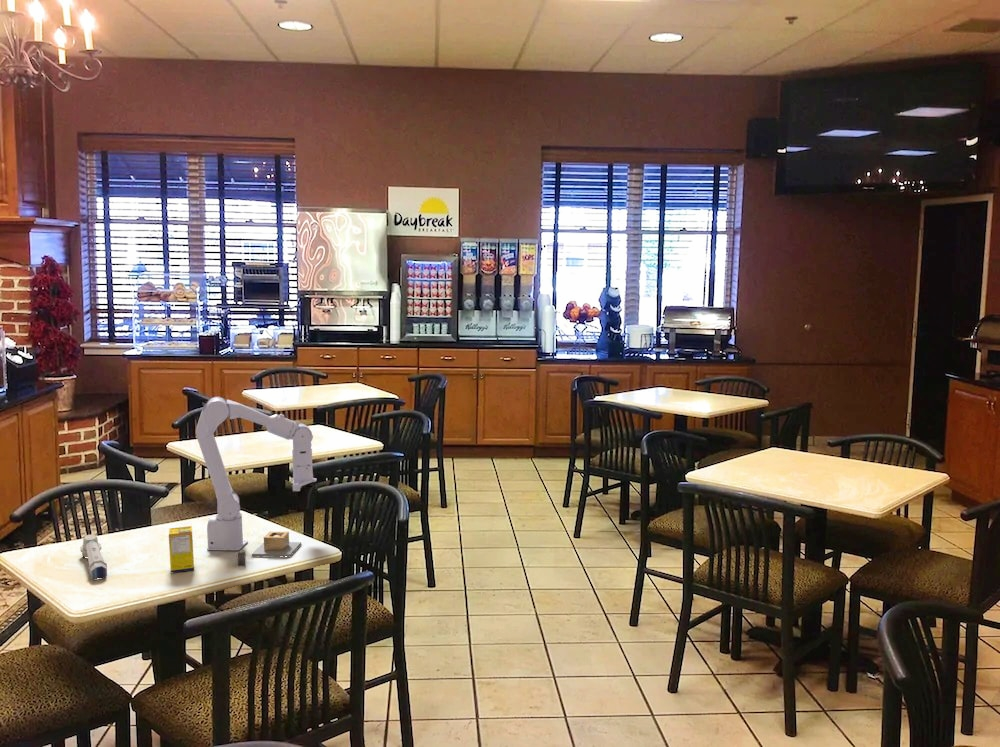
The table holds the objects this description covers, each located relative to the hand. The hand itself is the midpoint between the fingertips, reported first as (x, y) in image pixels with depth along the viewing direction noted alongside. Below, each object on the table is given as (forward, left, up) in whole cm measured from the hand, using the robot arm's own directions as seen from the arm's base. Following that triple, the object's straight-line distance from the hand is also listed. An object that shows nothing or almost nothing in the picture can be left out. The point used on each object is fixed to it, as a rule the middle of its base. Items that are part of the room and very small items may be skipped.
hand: (303, 508), depth 252 cm
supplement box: (-26, -27, -10) cm, 39 cm away
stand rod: (-11, -23, -9) cm, 27 cm away
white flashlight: (-51, -26, -10) cm, 58 cm away
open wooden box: (-5, -11, -9) cm, 15 cm away
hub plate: (-5, -11, -9) cm, 15 cm away
